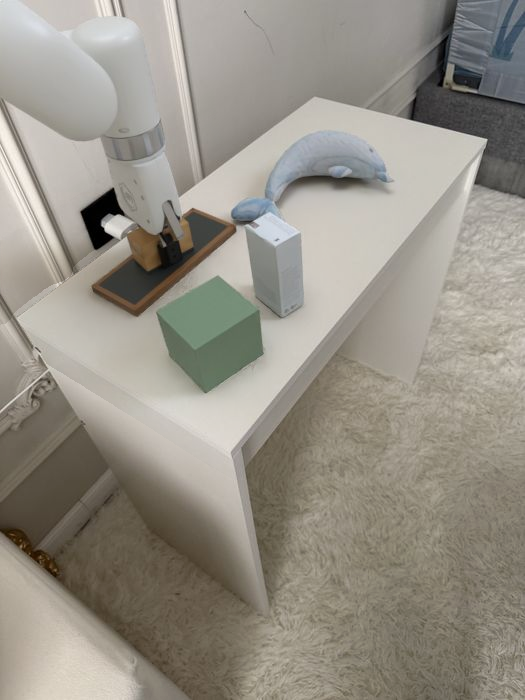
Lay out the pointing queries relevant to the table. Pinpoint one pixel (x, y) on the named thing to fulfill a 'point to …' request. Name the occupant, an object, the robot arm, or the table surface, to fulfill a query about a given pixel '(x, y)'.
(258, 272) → the cosmetic box
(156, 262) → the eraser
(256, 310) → the sage green box
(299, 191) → the table surface
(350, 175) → the sculpture
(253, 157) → the table surface
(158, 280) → the chalkboard
